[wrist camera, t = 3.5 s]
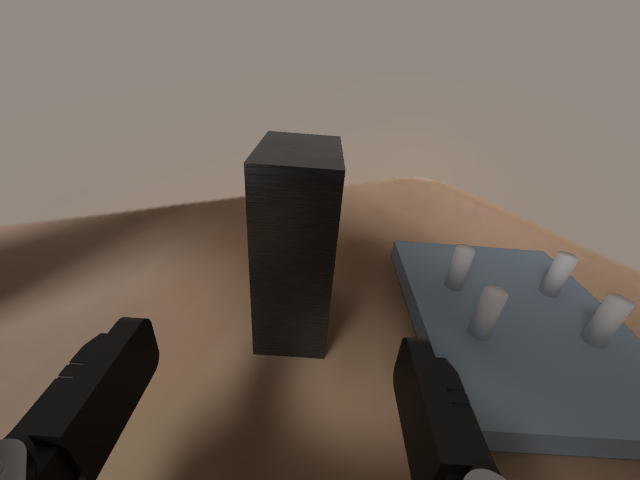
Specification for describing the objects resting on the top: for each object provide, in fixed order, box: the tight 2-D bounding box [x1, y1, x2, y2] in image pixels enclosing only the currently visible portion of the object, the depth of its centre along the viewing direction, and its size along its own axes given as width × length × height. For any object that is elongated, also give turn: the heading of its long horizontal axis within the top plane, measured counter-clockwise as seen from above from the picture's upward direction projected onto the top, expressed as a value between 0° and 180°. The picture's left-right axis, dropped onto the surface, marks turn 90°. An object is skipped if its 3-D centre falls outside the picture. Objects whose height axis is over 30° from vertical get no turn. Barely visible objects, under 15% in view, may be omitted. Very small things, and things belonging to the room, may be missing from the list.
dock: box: [391, 241, 640, 460], centre depth 20 cm, size 13×16×4 cm
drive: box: [244, 131, 345, 359], centre depth 18 cm, size 4×6×11 cm, turn 179°
